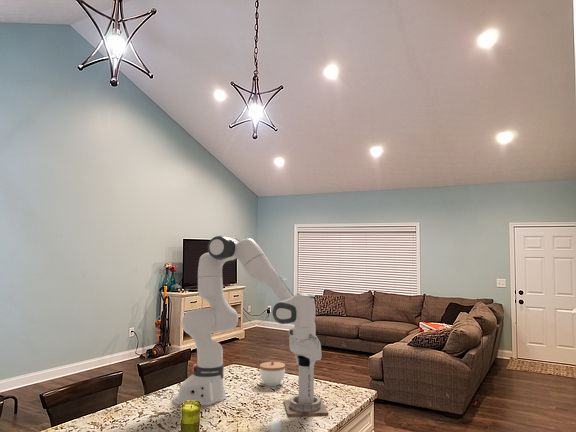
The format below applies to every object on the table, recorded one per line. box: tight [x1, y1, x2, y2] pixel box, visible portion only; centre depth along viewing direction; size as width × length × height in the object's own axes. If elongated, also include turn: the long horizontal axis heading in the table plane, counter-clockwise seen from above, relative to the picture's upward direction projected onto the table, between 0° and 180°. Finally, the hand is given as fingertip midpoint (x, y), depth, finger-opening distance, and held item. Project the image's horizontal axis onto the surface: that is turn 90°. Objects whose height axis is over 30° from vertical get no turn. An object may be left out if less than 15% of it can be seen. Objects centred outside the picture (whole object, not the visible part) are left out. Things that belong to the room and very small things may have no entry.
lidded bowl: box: [259, 360, 286, 387], centre depth 209 cm, size 13×13×11 cm
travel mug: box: [298, 355, 315, 404], centre depth 175 cm, size 6×7×20 cm
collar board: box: [283, 394, 329, 418], centre depth 175 cm, size 16×16×4 cm
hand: (305, 366), depth 176 cm, fingers open, 8 cm apart
